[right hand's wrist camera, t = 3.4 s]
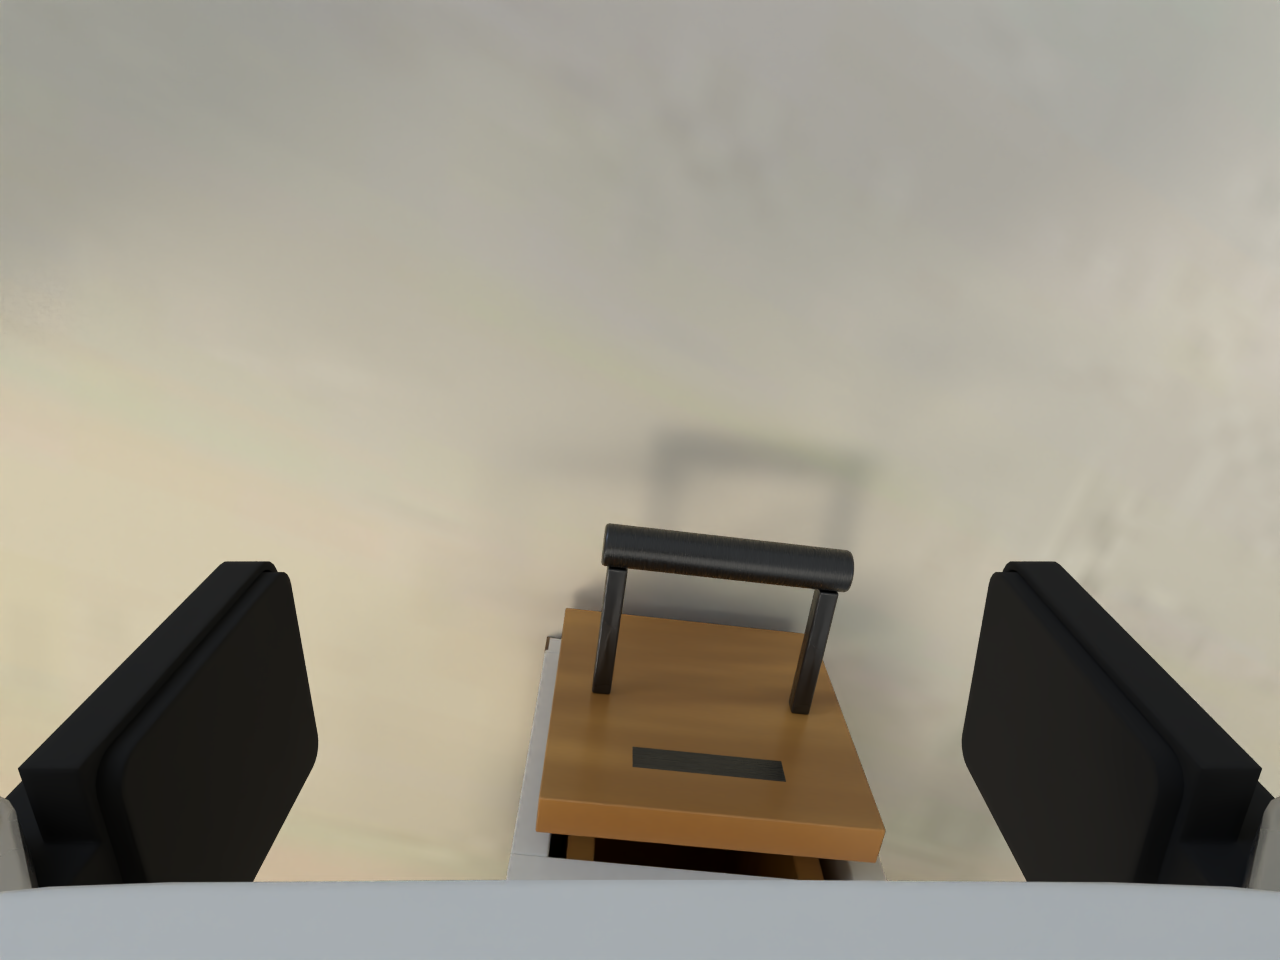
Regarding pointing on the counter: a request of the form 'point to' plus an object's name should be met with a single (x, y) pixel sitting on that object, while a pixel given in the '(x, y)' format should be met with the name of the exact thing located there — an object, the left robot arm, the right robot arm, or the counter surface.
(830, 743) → the drawer
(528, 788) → the off-white box shell
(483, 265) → the counter surface
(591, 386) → the counter surface
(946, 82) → the counter surface
